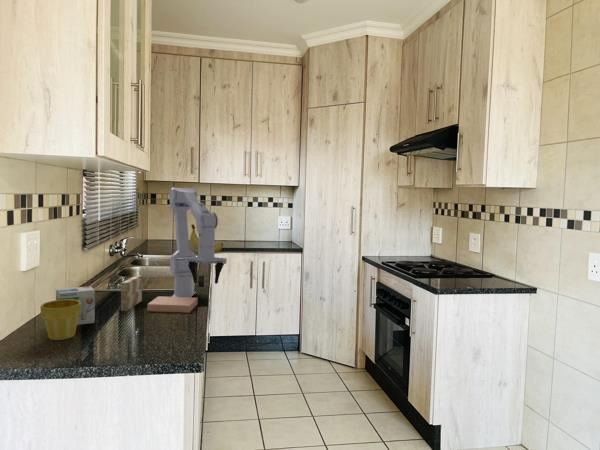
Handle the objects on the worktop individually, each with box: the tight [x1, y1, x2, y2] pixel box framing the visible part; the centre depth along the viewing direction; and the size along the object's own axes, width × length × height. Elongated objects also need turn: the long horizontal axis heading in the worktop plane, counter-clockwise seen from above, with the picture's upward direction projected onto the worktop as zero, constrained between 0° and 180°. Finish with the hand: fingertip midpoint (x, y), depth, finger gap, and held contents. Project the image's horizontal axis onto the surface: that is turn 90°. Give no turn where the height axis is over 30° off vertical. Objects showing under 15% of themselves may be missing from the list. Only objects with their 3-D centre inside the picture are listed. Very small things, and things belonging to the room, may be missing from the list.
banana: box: [189, 224, 224, 254], centre depth 309 cm, size 23×6×20 cm, turn 105°
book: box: [146, 295, 199, 313], centre depth 165 cm, size 12×15×3 cm
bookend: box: [120, 274, 143, 312], centre depth 165 cm, size 15×2×10 cm, turn 0°
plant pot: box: [39, 299, 81, 341], centre depth 129 cm, size 10×10×10 cm
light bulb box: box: [55, 285, 96, 326], centre depth 143 cm, size 11×7×11 cm, turn 126°
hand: (206, 282), depth 164 cm, fingers open, 7 cm apart
